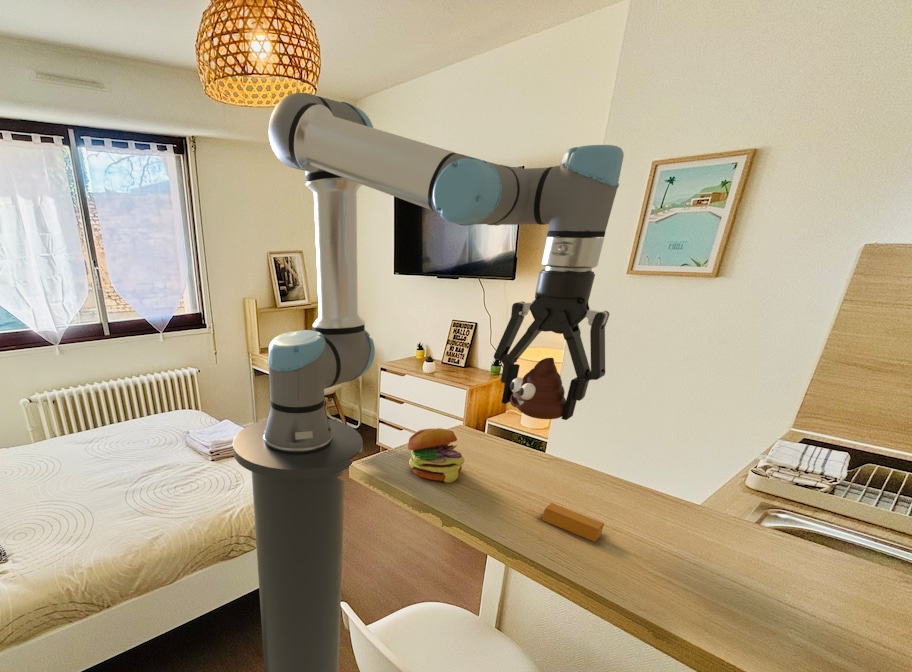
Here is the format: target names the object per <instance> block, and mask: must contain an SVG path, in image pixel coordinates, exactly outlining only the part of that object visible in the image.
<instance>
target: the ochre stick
mask: <svg viewBox="0 0 912 672" xmlns="http://www.w3.org/2000/svg"><path fill="white" fill-rule="evenodd" d="M541 520H542V521H544V522H546V523H548V524H549V525H553V526H555V527H558V528H561V529H562V530H565V531H567V532H570V533H572V534H575V535H577V536H578V537H579V536H580V537H582V538H584V539H586V540H589V541H590V542H591V541H592V542H596V541H597V540H598V539H599V538H600V537H601V536H602V532H603V529H604V526H605V523H604V522H603V521H600V520H597V519H594V518H592V517H589V516H586V515H585V514H583V513H582V514H581V513H580V512H576V511H574V510H571V509H569V508H566V507H564V506H562V505H559V504H556V503H554V502H551V503H549V504H548V505H547V506H545V508H544V511H543V516H542V519H541Z"/></svg>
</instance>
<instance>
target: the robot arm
mask: <svg viewBox="0 0 912 672" xmlns="http://www.w3.org/2000/svg"><path fill="white" fill-rule="evenodd" d="M268 139H269V142H270V146H271V150H272V151H273V153H274V154H275V157H276V158H277V159H278V160H279V161H280V162H281V163H283V164H284V165H285V166H286V167H289V168H292V169H296V170H301V171H304V172H305V186H306V187H307V188H308V189H309V190H310V191H311V192H312V193H313V202H314V225H315V249H316V276H317V298H318V317H317V318H316V319H315V321H314V322H313V323H312V329H300V330H298V331H297V330H296V331H295V330H293V331H287V332H284V333H282V334H279V335H277V336H275V337H274V338H273V339H272V340H271V341H270V343H269V345H268V358H267V363H268V364H267V365H268V377H269V379H268V380H269V395H270V397H269V398H270V399H269V400H270V410H269V413H268V418H267V420H268V421H267V425H266V428H265V430H264V443H265V445H266V446H267V447H269V448H270V449H272V450H274V451H277V452H281V453H287V454H307V453H313V452H317V451H320V450H322V449H324V448H326V447H328V446H329V445H330V444H331V442H332V432H331V428H330V426H329V422H328V419H329V418H328V416H327V413H326V409H325V390H326V389H329V388H332V387H335V386H337V385H341V384H344V383H349V382H353V381H355V380H356V379H358V378H360V377H363V376H364V375H365V374H366V373H367V372H368V371H369V370H370V368H371V367H372V365H373V364H374V359H375V354H376V349H375V343H374V340H373V338H372V337H371V335H370V333H369V332H368V331H367V330H366V329H365V326H366V325H365V321H364V320H363V318H362V317H360V316H359V312H358V306H359V305H358V304H359V303H358V301H359V300H358V298H359V297H358V214H357V211H358V210H357V209H358V207H357V205H358V204H357V202H358V201H357V199H358V198H357V197H358V196H357V192H358V190H359V189H360V188H361V187H362V186H366V187H368V188H370V189H373V190H376V191H379V192H382V193H384V194H388V195H390V196H393V197H395V198H398V199H400V200H403V201H406V202H408V203H411V204H414V205H417V206H419V207H422V208H425V209H428V210H430V211H432V212H435V213H437V214H438V215H439V217H441V218H442V220H444V221H446V222H448V223H451V224H456V225H460V226H473V225H487V226H495V227H497V226H501V225H503V226H504V225H505V226H507V225H508V226H509V225H510V226H515V225H517V226H518V225H519V226H520V225H541V226H542V225H543V226H544V225H545V226H546V225H548V230H547V233H546V240H545V244H544V250H543V254H542V259H541V265H542V266H543V267H544V269H541V271H539V273H538V277H537V278H538V279H537V282H536V286H535V287H536V288H535V294H534V295H535V296H534V298H533V300H532V301H531V302H526V301H518V302H514V303H513V304H512V306H511V314H510V318H509V321H508V323H507V325H506V327H505V330H504V332H503V334H502V336H501V339H500V341H499V343H498V345H497V347H496V350H495V352H494V354H493V358H494V360H496V361H499V362H500V363H502V365H503V366H502V372H501V376H500V377H501V378H500V382H501V384H504V389H503V392H502V398H501V402H500V403H501V404H504V405H506V404H509V403H510V396H511V394H512V393H513V392H512V390H511V389H510V384H511V382H512V381H513V380H514V379H515V378H518V377H519V372H520V371H519V370H520V364H517V362H518V360H519V358H520V357H521V356H522V355H523V354H524V353H525V352H526V350H527V349H528V347H529V346H530V345H531V344H532V343H533V341H534V340H535V339H536V338H537V336H538V335H539V334H540V333H541V332H545V333H547V332H552V333H555V334H558V335H562V336H563V339H564V341H566V345H567V348H568V351H569V356H570V358H571V362H572V365H573V368H574V372H575V375H576V377H575V378H572V379H571V380H570V384H569V387H568V391H567V395H566V398H565V399H566V403H565V407H564V411H563V415H562V417H560V418H561V420H564V421H567V420H569V419H570V418H572V417H573V416H574V412H575V409H576V405H577V401H578V402H580V401H582V400H583V399H584V398H585V397H586V393H587V391H588V385H589V382H590V381H594V380H595V381H597V380H600V379H601V378H603V377H604V376H605V375H606V325H607V322H608V320H609V317H610V312H609V311H608V310H602V311H600V310H595V309H590V306H589V300H590V297H591V294H592V293H591V292H592V289H593V284H594V280H595V277H596V274H595V272H594V271H593V269H595V268H597V267H598V266H599V261H600V257H601V253H602V249H603V245H604V241H605V237H606V231H607V228H608V225H609V224H608V223H609V220H610V216H611V213H612V209H613V205H614V202H615V199H616V195H617V191H618V188H619V186H620V183H619V182H620V178H621V177H620V176H621V173H622V172H621V171H622V167H623V161H624V155H625V154H624V151H623V149H622V147H619V146H617V145H613V144H590V145H581V146H575V147H570V148H568V149H567V150H565V152H564V153H563V155H562V160H561V161H560V162H559V165H555V166H549V167H533V168H532V167H530V168H529V167H528V168H518V167H514V166H508V165H504V164H498V163H494V162H491V161H486V160H484V159H479V158H477V157H473V156H469V155H466V154H461V153H459V152H455V151H452V150H448V149H445V148H442V147H438V146H435V145H432V144H429V143H425V142H422V141H418V140H415V139H412V138H408V137H404V136H401V135H398V134H395V133H391V132H388V131H384V130H382V129H377V128H374V125H373V123H372V120H371V118H370V117H369V116H368V115H367V114H366V113H365V112H364V111H363V110H362V109H360V108H358V107H356V106H354V105H353V104H351V103H348V102H346V101H338V100H334V99H330V98H326V97H323V96H319V95H315V94H312V93H308V92H295V93H290V94H288V95H286V96H284V97H283V98H282V99H281V100H279V101H278V103H277V104H276V105H275V107H274V109H273V111H272V112H271V115H270V117H269V122H268ZM529 312H530V313H531V315H532V318H533V319H534V320H533V321H532V323H531V324H530V325H529V326H528V328H526V331H525V333H524V334H523V335H522V337H520V339H519V340H518V341H517V342H516V344H515V345H514V346H513V348H512V349H511V347H512V345H513V343H514V341H515V339H516V337H517V334H518V332H519V330H520V328H521V326H522V324H523V322H524V319H525V317H526V316H527V315H528V314H529ZM586 318H587V320H588V321H587V324H588V325H589V326H590V331H589V333H590V334H589V337H590V340H589V341H590V364H589V361H588V357H587V354H586V350H585V347H584V344H583V343H584V342H583V340H582V337H581V334H582V333H581V329H580V326H579V324H580V323H581V322H582V321H583V320H584V319H586Z"/></svg>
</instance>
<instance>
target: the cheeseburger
mask: <svg viewBox="0 0 912 672" xmlns="http://www.w3.org/2000/svg"><path fill="white" fill-rule="evenodd" d="M457 441H458V438H457V436H456V434H455V432H454V431H453V430H450V429H446V428H441V427H440V428H439V427H438V428H424V429H419V430H418V431H416V432H415V433H413V434H412V435H411V436H410V437H409V438H408V443H407V449H408V450H410V451H411V452H410V455H411V457H410V458H409V460H408V464H409V467H410V468H411V469H412V472H413V473H414V474H415V475H416V476H418V477H420V478H424V479H428V480H432V481H440V482H442V481H443V482H444V483H446V484H448V483H449V484H450V483H453V482H455V481H457V479H458V477H459V476H460V473H461V472H462V468H463V467H462V466H463V465H464V464H465V457H464V456H463V455H462V453H461V452H460V451H457V450H456V449H455V448H456V447H457V446H458V444H456V445H454V444H452V443H455V442H457Z"/></svg>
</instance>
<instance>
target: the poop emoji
mask: <svg viewBox="0 0 912 672" xmlns="http://www.w3.org/2000/svg"><path fill="white" fill-rule="evenodd" d="M510 389H511V390H512V392H513V393H512V394H511V396H510V402H509V404H510V405H511V406H512V407H514V408H516V409H518V411H519V412H521V413H522V414H523V415H525V416H527V417H530V418H534V419H539V420H556V419H557V420H558V419H560V418H562V415H563V411H564V407H565V403H566V399H567V398H566V397H565V394H566V393H565V388H564V386H563V381H562V377H561V375H560V373H559V372H558V369H557V366H556V364H555V359H554V357H545V358H542V359H541V360H539V361H538V362H537V363H536V364H535V366H534V367H533V368H532V369H530V370H529V371H528V372H526V374H524V376H523V377H519V376H517V378H515V379H514V380H513V381H512V382H511V384H510Z"/></svg>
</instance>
